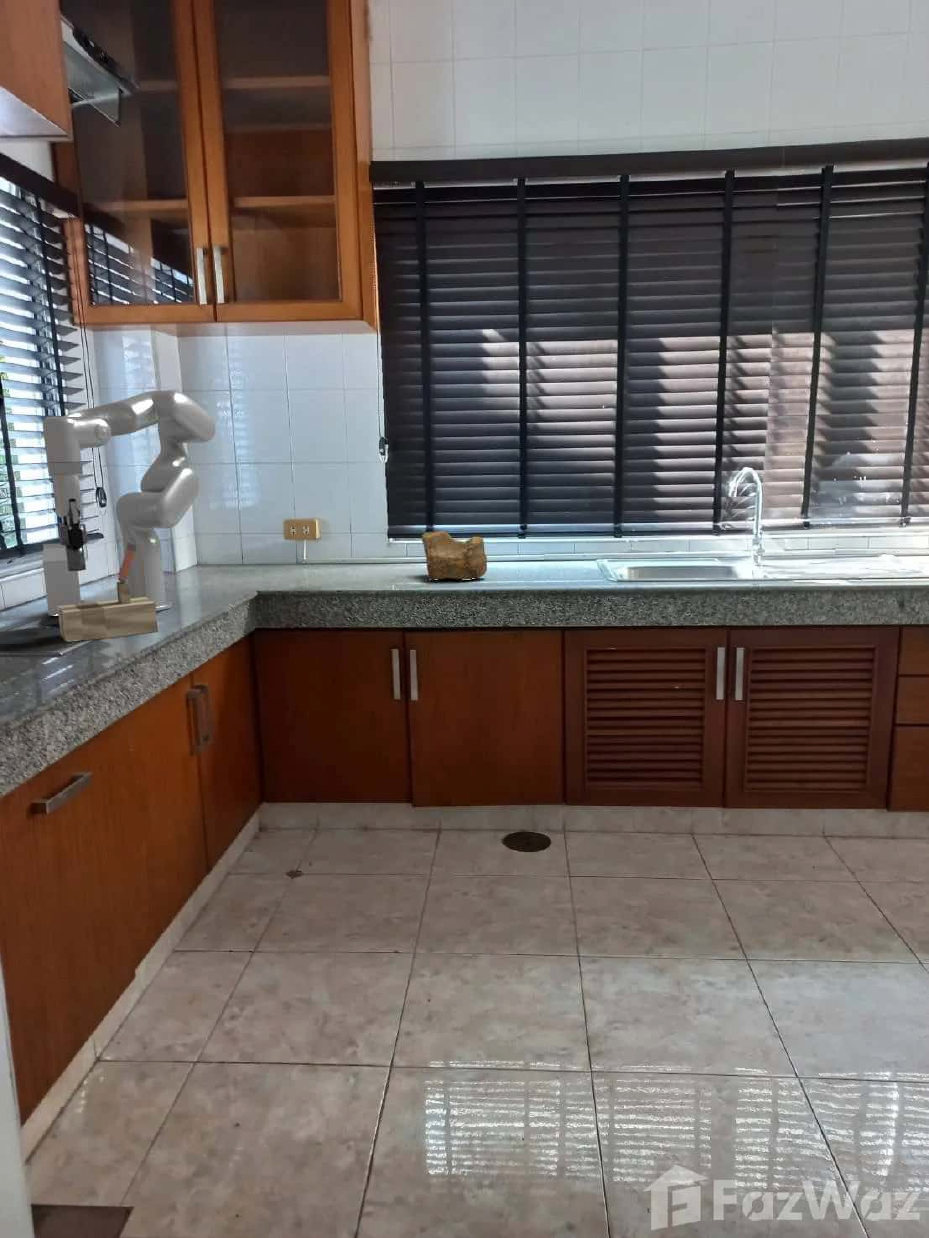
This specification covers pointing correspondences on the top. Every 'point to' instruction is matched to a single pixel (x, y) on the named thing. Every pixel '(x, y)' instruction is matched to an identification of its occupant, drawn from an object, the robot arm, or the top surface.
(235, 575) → the top surface
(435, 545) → the rough brown rock
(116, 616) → the block
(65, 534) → the dark grey metal block
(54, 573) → the milk carton
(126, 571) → the keeper bar
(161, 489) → the robot arm
